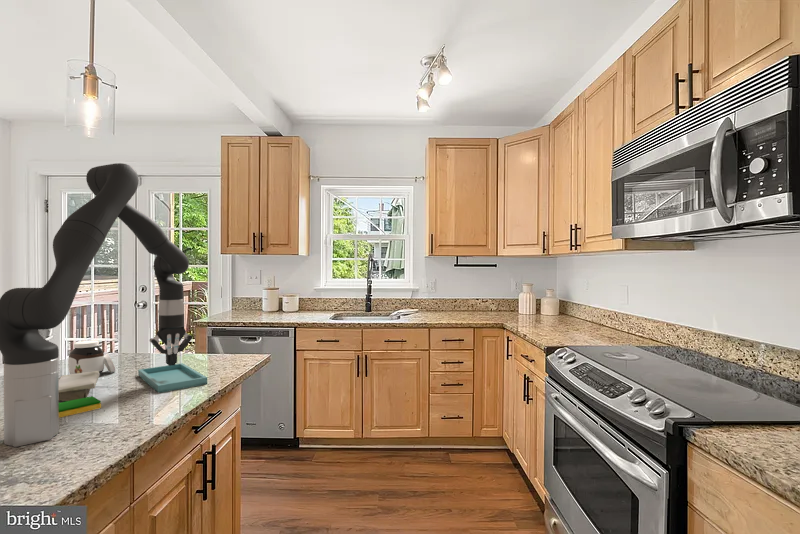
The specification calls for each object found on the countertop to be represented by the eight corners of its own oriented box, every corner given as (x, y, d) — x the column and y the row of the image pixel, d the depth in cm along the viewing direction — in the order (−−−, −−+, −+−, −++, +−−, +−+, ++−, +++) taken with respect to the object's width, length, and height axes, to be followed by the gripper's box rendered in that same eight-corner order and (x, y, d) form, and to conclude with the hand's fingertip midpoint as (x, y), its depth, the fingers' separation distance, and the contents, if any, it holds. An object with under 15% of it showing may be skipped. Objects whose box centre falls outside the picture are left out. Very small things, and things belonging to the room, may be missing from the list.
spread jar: (64, 377, 143) (64, 343, 143) (96, 369, 154) (96, 337, 154) (90, 380, 140) (90, 345, 139) (122, 372, 150) (122, 339, 150)
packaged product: (100, 384, 135) (60, 390, 130) (100, 369, 135) (60, 374, 130) (95, 399, 119) (50, 407, 114) (94, 382, 119) (49, 389, 114)
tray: (207, 384, 136) (207, 377, 136) (158, 393, 126) (158, 385, 126) (182, 369, 155) (182, 363, 155) (138, 376, 145) (138, 369, 145)
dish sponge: (101, 410, 113) (101, 401, 113) (34, 425, 102) (33, 415, 102) (92, 404, 117) (92, 395, 117) (27, 418, 107) (27, 409, 107)
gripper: (151, 315, 133) (151, 370, 133) (196, 312, 142) (196, 364, 142) (145, 313, 139) (146, 366, 139) (189, 310, 148) (189, 360, 148)
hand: (171, 365), depth 141 cm, fingers closed
